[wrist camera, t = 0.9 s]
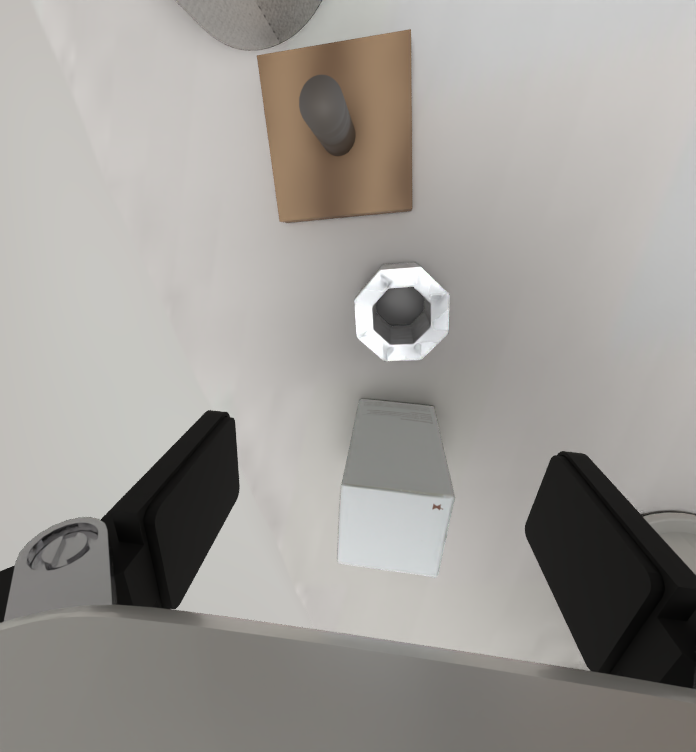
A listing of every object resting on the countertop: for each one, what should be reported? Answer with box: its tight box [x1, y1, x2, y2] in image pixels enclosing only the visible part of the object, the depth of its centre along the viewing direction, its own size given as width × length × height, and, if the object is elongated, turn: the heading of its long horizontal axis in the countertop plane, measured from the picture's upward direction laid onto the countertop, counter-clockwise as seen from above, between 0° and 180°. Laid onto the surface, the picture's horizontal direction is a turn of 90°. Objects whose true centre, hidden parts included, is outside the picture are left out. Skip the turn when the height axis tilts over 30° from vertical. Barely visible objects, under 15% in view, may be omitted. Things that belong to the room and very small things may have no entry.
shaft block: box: [257, 29, 412, 223], centre depth 22 cm, size 10×10×8 cm
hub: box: [354, 262, 450, 361], centre depth 26 cm, size 6×6×6 cm
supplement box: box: [337, 399, 455, 578], centre depth 28 cm, size 7×7×13 cm
